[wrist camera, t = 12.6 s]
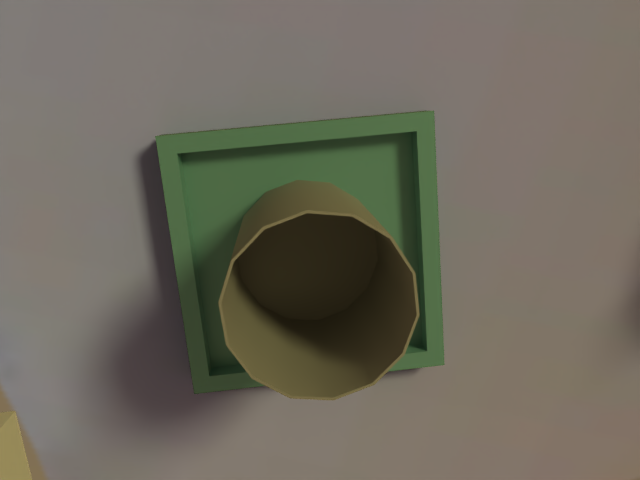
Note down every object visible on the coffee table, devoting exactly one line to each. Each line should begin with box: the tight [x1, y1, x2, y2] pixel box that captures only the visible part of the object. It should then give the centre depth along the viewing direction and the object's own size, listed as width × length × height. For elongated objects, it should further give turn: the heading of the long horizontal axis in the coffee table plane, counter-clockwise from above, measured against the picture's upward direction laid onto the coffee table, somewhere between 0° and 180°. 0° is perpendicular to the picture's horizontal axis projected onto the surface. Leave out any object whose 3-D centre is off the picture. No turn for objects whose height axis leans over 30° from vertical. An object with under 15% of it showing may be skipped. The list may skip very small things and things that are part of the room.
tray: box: [155, 111, 444, 394], centre depth 33 cm, size 15×15×2 cm
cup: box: [218, 180, 420, 400], centre depth 29 cm, size 8×8×10 cm
